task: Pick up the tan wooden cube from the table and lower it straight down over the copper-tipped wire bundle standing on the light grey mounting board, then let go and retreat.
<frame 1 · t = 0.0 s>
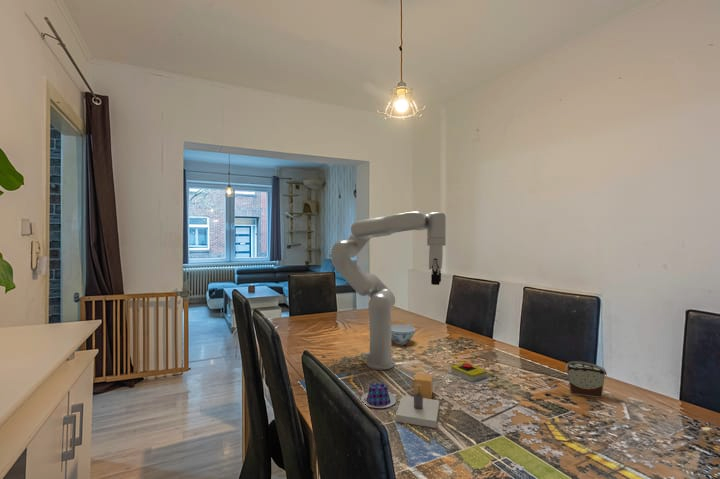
hand: (436, 283, 137), 37 cm above the table, tool pointing down, fingers open, 9 cm apart
emergency button: (469, 377, 133), on the table
tan wooden cube: (423, 393, 116), on the table
chinaware: (401, 342, 175), on the table
food container: (583, 392, 118), on the table
board: (418, 413, 103), on the table
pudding: (378, 401, 112), on the table
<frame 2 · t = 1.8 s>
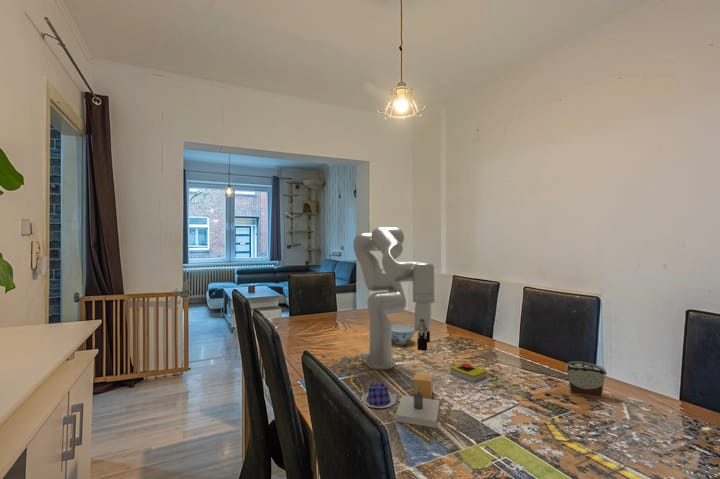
hand: (423, 345, 116), 17 cm above the table, tool pointing down, fingers open, 9 cm apart
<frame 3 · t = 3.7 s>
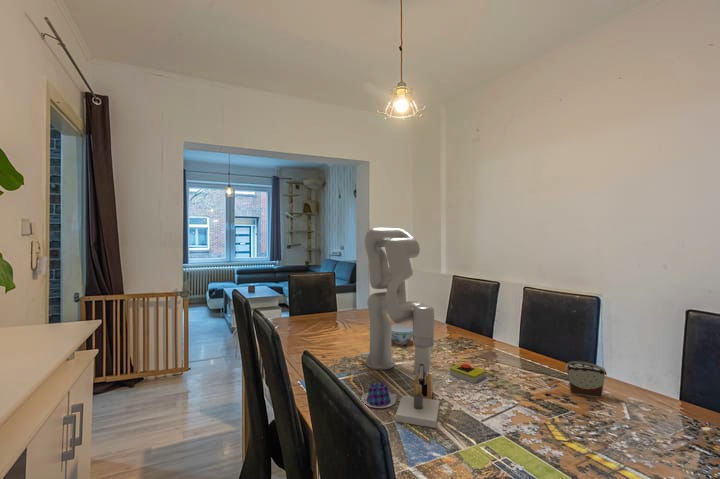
hand: (423, 390, 116), 1 cm above the table, tool pointing down, fingers closed on tan wooden cube, 5 cm apart
tan wooden cube: (423, 393, 116), on the table, touching gripper
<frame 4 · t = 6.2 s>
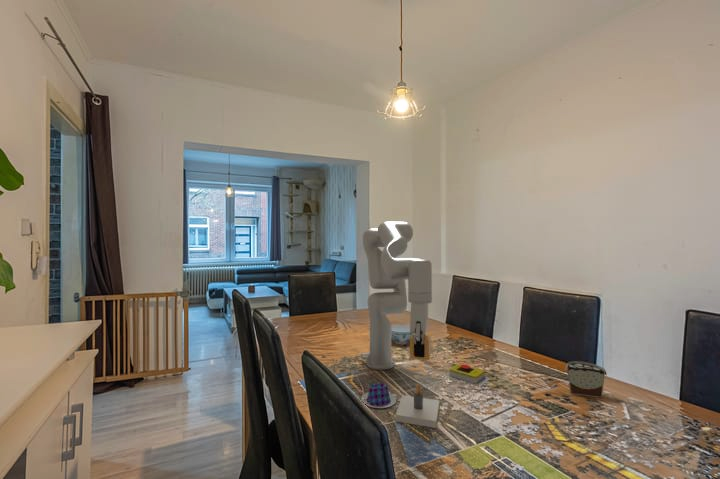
hand: (420, 352, 106), 18 cm above the table, tool pointing down, fingers closed on tan wooden cube, 5 cm apart
tan wooden cube: (420, 356, 106), point 17 cm above the table, touching gripper
when the fingers open (6 cm above the table, at t = 9.0 s): tan wooden cube stays where it is, resting on board.
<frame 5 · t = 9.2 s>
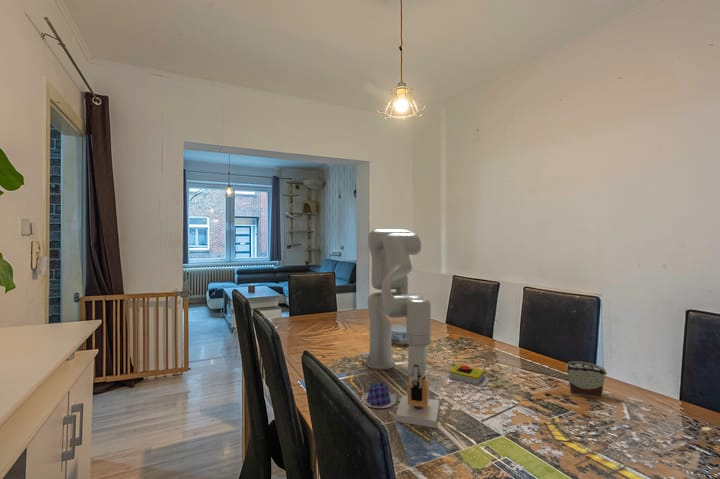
hand: (418, 393, 103), 6 cm above the table, tool pointing down, fingers open, 7 cm apart
tan wooden cube: (418, 401, 103), point 4 cm above the table, touching board
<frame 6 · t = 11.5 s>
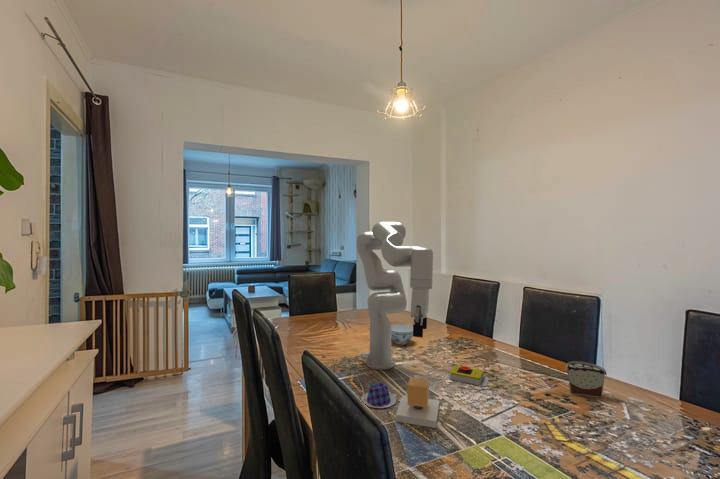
hand: (420, 332, 114), 23 cm above the table, tool pointing down, fingers open, 9 cm apart
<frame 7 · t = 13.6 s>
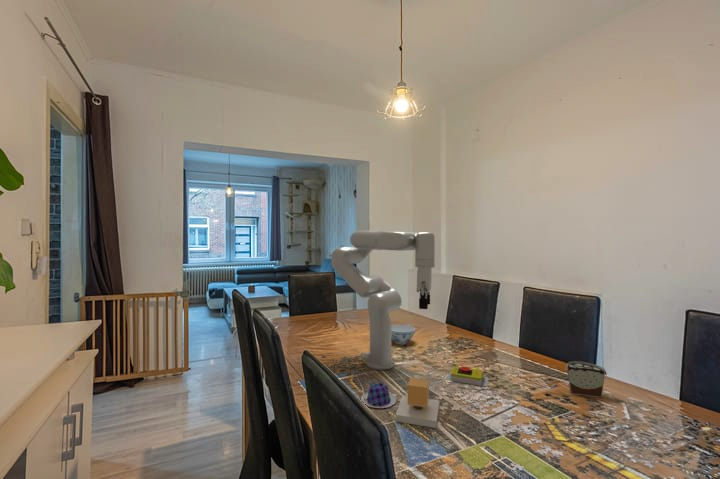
hand: (424, 306, 130), 28 cm above the table, tool pointing down, fingers open, 9 cm apart
at the end: tan wooden cube 0.0 cm off-centre on the board, point 3.8 cm above the board's base; tan wooden cube tilted 0°; the gripper is holding nothing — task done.
